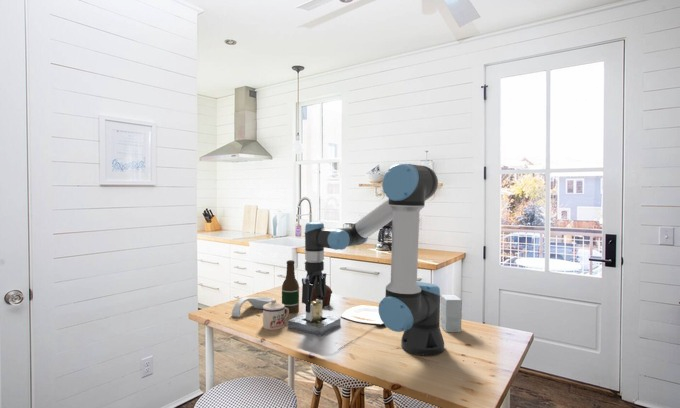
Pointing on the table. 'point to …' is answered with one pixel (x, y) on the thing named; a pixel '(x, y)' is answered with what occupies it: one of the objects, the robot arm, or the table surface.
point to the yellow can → (316, 312)
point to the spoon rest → (256, 302)
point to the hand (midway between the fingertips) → (314, 317)
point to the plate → (363, 314)
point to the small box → (450, 313)
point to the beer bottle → (290, 290)
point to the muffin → (327, 298)
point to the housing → (314, 324)
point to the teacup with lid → (274, 315)
